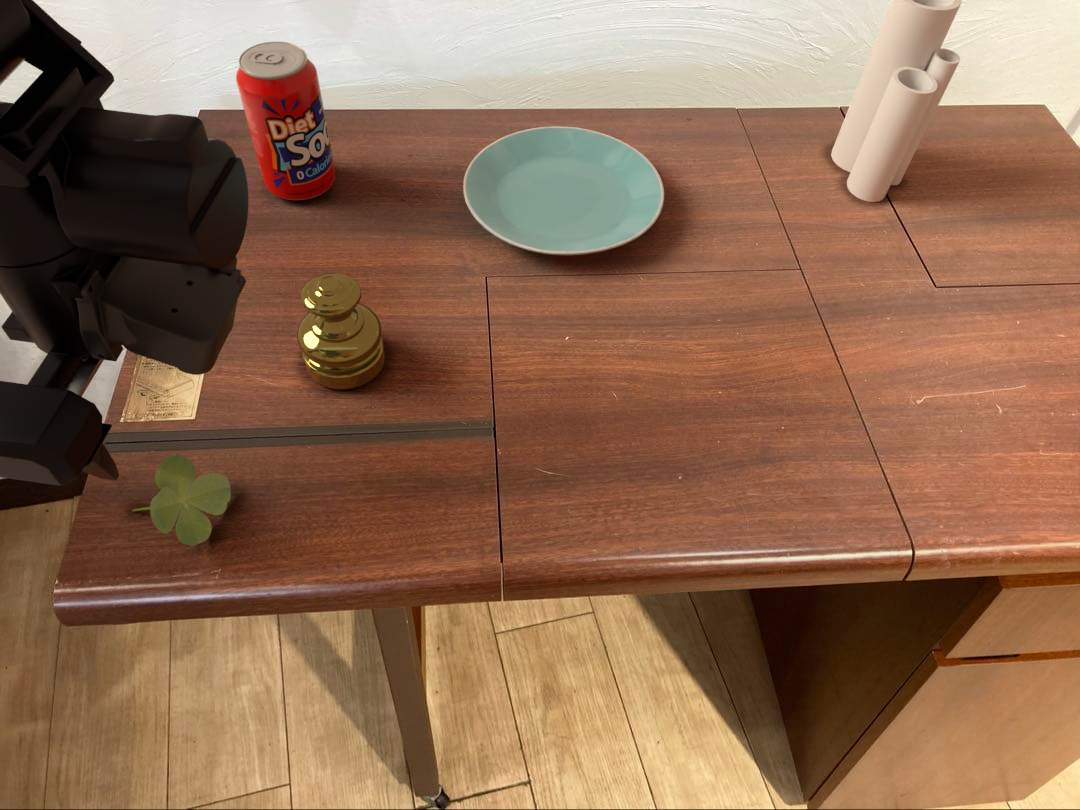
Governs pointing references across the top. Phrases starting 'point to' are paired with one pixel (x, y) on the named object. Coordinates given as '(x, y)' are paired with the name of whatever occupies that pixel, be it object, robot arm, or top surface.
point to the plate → (563, 191)
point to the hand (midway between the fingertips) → (142, 416)
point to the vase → (896, 95)
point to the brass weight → (339, 333)
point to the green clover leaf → (187, 500)
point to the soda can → (286, 120)
